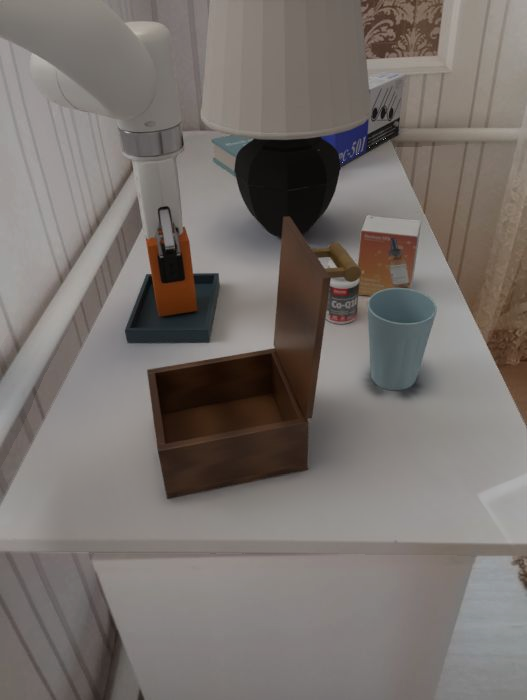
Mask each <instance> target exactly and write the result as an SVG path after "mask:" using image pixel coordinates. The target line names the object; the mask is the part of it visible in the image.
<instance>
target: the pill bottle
mask: <svg viewBox="0 0 527 700" xmlns="http://www.w3.org/2000/svg"><path fill="white" fill-rule="evenodd" d="M351 258H352V259H353V260H354V261H355V263H356V264H357V265H358V260H356V259H355V258H354V257H351ZM327 268H337V267H336V265H335V264H334V262H333V261H332V260H331V258H330V259H329V260H328V261H327ZM358 292H359V278H358V279H357V280H356V281H353V282H349V281H347V280H346V279H345V278H344V277H338V278H331V280H330V288H329V295H328V303H327V310H326V318H325V320H327V321H328V322H330V323H333V324H336V325H337V324H338V325H343V324H344V325H345V324H350V323H352V322H353V321H355V319H356V318H357V316H358V315H357V314H358V306H359V305H358V304H359V294H358Z"/></svg>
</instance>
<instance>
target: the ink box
mask: <svg viewBox="0 0 527 700" xmlns="http://www.w3.org/2000/svg"><path fill="white" fill-rule="evenodd" d="M405 76H406V75H405V74H403V73H394V72H387V71H381V72H378V73H375V74H372V75H370V76H368V82H369V91H370V99H371V105H372V115H371V116H370V118H369V119H368V120H367V121H366V122H365V123H364V124H362V125H360V126H358V127H356V128H353V129H351V130H348V131H344V132H341V133H337V134H333V135H328V136H321V138H322V139H324V140H325V141H327V142H328V143H330V144H331V145H332V146H333V147H334V148H335V149H336V150H337V152H338V155H339V159H340V167H342V166H344V165H345V164H347V163H349V162H351V161H353V160H354V159H356V158H358V157H360V156H361V155H363V154H365V153H367V152H369V151H371V150H373V149H375V148H376V147H378V146H380V145H382V144H384V143H386V142H388V141H389V140H391V139H393V138H394V137H397V136H399V131H400V124H401V123H400V122H401V113H402V105H403V104H402V103H403V96H404V85H405V78H406V77H405ZM385 138H386V139H385ZM383 139H384V140H383ZM376 143H377V144H376ZM369 147H370V148H369ZM358 153H359V154H358ZM356 154H357V155H356ZM342 162H343V163H342Z"/></svg>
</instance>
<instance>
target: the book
mask: <svg viewBox="0 0 527 700" xmlns="http://www.w3.org/2000/svg"><path fill="white" fill-rule="evenodd" d="M252 140H253V138H244V137H237V136H233V135H226V136H219V137H216V138H211V143H212V144H213V153H214V157H213V158H212V161H213V162H214V163H216V165H218V166H220V167H222V169H224V170H225V171H226V172H228V173H230V174H231V175H232V176H234V177H235V178H236V174H235V172H234V169H235V160H236V156H237V154H238V152H239V151H240V149H241V148H242V147H243V146H245V145H246V144H247V143H249V142H250V141H252Z"/></svg>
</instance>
